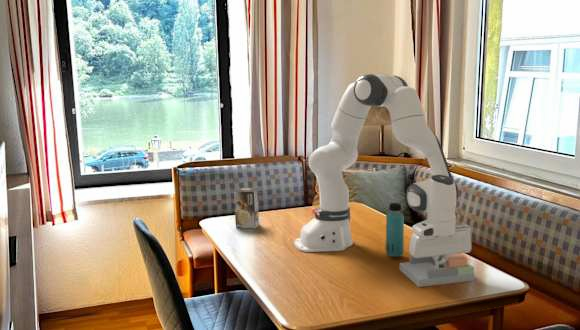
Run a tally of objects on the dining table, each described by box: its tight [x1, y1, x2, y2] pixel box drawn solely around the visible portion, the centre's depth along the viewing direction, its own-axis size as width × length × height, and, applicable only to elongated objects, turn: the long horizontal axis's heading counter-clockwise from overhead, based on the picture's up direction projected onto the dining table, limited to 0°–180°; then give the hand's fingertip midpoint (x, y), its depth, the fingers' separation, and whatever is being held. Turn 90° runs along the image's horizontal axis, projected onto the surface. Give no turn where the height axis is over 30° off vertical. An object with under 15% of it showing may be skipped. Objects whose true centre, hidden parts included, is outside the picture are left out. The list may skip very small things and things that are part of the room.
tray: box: [399, 255, 475, 288], centre depth 194 cm, size 19×15×4 cm
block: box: [443, 253, 468, 269], centre depth 192 cm, size 6×5×4 cm
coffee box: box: [233, 187, 260, 229], centre depth 251 cm, size 9×6×16 cm
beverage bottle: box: [385, 202, 405, 257], centre depth 210 cm, size 6×7×20 cm
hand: (440, 267), depth 191 cm, fingers closed
